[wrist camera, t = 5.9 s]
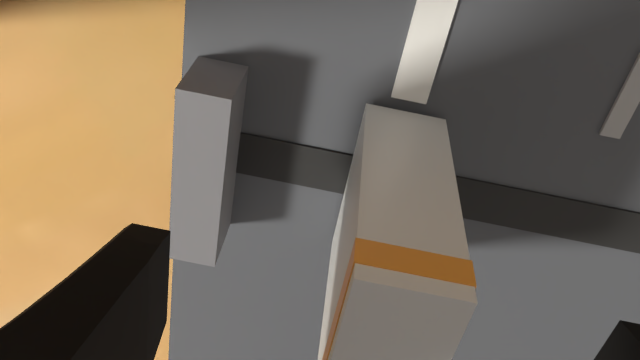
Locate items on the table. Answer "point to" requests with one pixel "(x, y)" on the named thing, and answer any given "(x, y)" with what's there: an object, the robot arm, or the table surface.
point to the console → (467, 152)
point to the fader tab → (398, 247)
